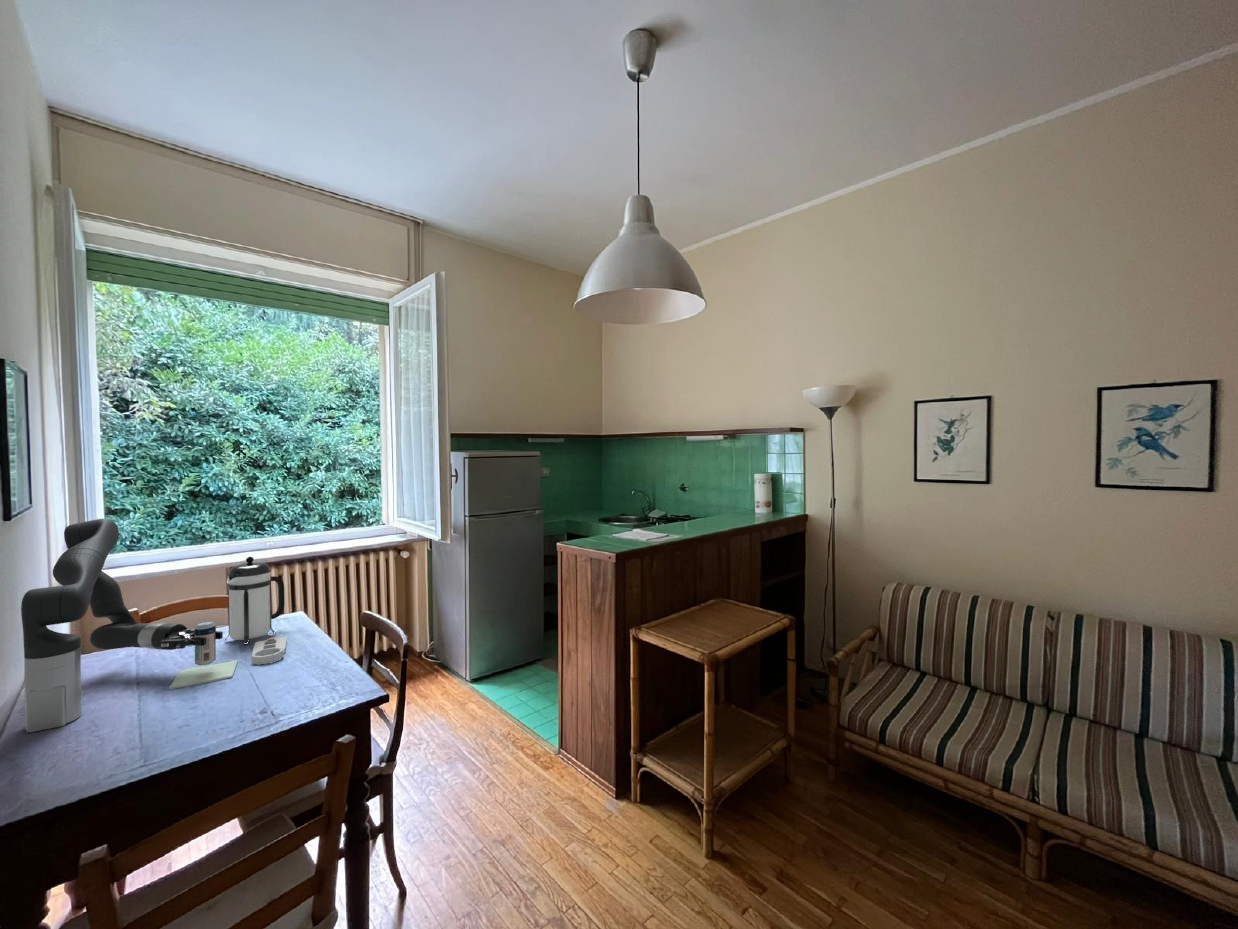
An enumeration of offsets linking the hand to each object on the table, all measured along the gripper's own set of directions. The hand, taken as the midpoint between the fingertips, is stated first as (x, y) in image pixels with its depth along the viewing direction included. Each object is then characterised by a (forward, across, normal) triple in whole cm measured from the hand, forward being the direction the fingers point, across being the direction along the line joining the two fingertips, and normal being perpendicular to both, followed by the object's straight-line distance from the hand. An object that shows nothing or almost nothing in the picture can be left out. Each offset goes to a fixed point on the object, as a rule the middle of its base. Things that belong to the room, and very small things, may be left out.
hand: (213, 638), depth 149 cm
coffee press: (-15, +31, +12) cm, 37 cm away
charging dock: (+3, +17, +11) cm, 21 cm away
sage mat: (-2, 0, +11) cm, 11 cm away
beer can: (-3, 0, +8) cm, 8 cm away
